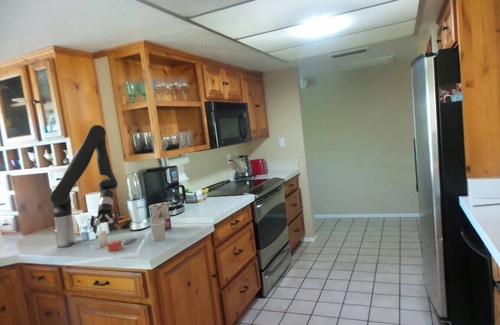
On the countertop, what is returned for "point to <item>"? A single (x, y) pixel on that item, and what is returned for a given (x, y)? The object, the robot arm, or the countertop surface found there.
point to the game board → (127, 242)
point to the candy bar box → (160, 213)
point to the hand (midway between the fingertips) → (103, 231)
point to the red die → (114, 245)
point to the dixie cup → (158, 230)
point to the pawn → (102, 238)
